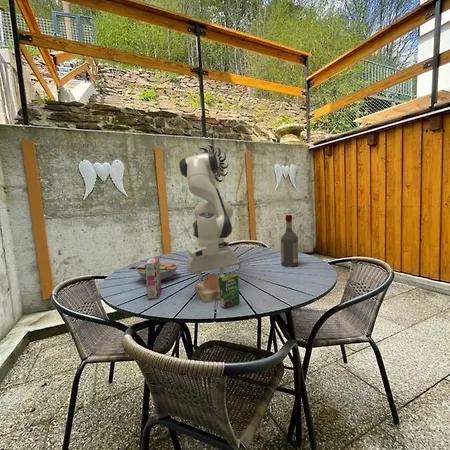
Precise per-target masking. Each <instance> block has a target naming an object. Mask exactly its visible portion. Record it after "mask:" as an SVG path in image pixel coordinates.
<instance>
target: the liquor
mask: <svg viewBox="0 0 450 450" xmlns="http://www.w3.org/2000/svg"><path fill="white" fill-rule="evenodd" d="M292 221H293V215H292V214H286V215H285V226H286V227H285V232H284V233H283V235H282V236H281V238H280V256H281V257H280V261H281V262H280V263H281V266H282V267H285V268H296V267H297V266H298V264H299V237H298V236H297V234H296V233H295V232H294V230H293V223H292Z"/></svg>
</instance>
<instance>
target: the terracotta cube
mask: <svg viewBox="0 0 450 450" xmlns="http://www.w3.org/2000/svg"><path fill="white" fill-rule="evenodd" d="M203 283H204V286H205V287H206V288H207V289H213V288H218V287H219V277H218V274H215V273H211V274H205V275H203Z"/></svg>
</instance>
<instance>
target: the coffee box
mask: <svg viewBox="0 0 450 450" xmlns="http://www.w3.org/2000/svg"><path fill="white" fill-rule="evenodd" d="M218 279H219V289H220V299H219V300H220V307H221V308H222V309H224V310H225V309H228V308H231V307H232V306H233V307H234V306H237V305H239V304H240V302H241V301H240V300H241V299H240V287H239V286H240V285H239V274H238V272H236V271H231V272H229V273H225V274H222V276H219V277H218Z"/></svg>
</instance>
